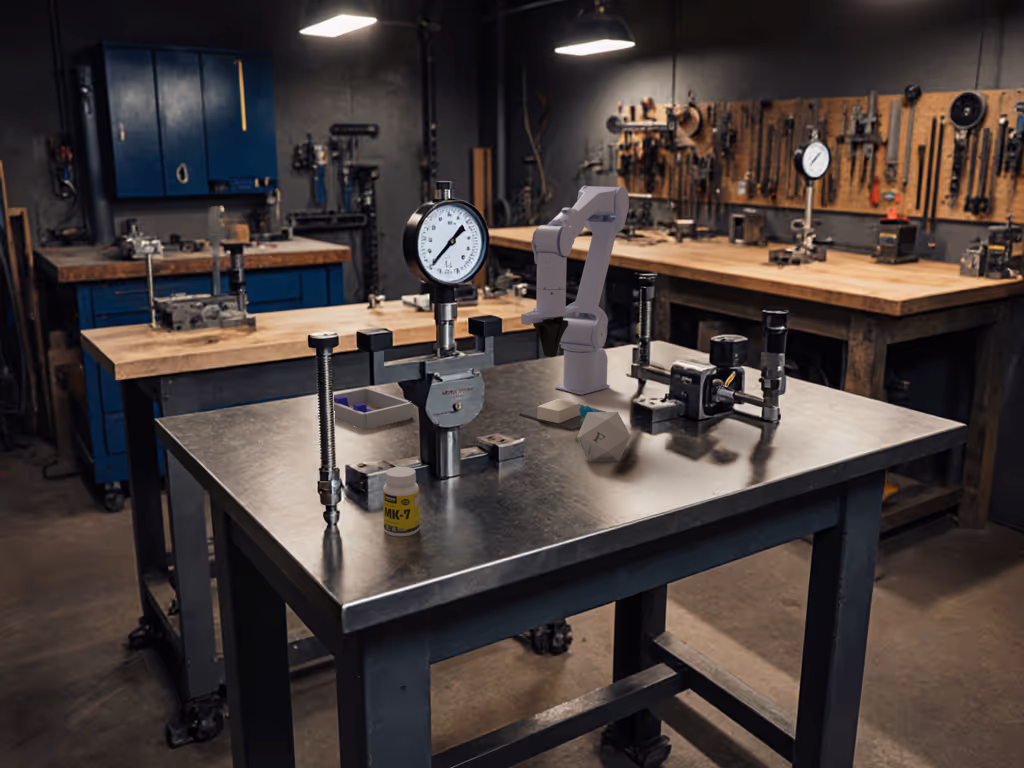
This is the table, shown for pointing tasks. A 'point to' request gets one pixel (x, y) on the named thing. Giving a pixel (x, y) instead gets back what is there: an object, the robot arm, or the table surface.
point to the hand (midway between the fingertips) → (550, 356)
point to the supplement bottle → (401, 502)
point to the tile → (558, 410)
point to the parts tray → (390, 413)
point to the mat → (568, 424)
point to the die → (603, 436)
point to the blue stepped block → (359, 406)
